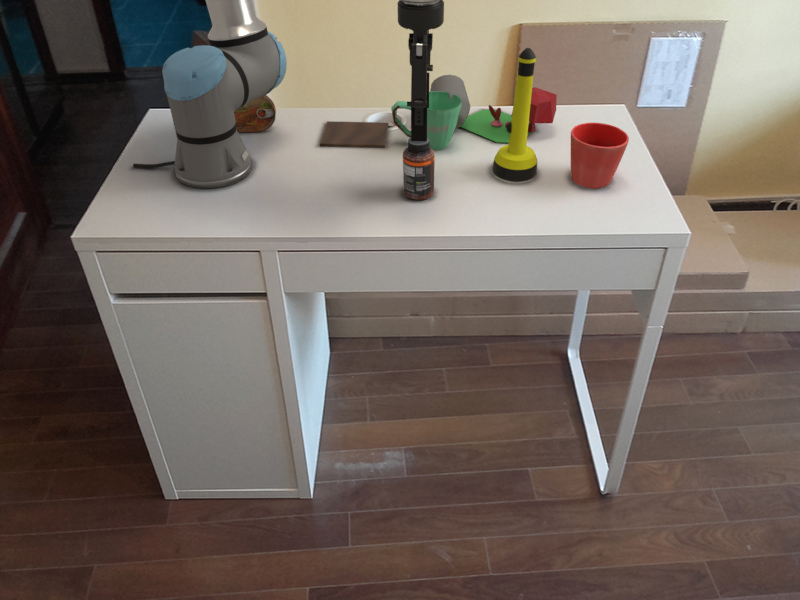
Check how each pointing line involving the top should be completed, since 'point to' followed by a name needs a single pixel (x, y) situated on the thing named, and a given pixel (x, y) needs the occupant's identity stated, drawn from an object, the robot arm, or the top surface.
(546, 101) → the red green faceted piece
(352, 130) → the placemat
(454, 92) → the cup
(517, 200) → the top surface
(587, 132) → the flower pot
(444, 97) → the mug
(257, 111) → the tin
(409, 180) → the supplement bottle
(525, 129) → the flashlight
